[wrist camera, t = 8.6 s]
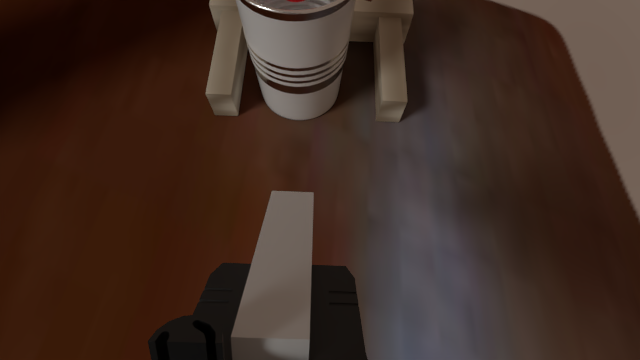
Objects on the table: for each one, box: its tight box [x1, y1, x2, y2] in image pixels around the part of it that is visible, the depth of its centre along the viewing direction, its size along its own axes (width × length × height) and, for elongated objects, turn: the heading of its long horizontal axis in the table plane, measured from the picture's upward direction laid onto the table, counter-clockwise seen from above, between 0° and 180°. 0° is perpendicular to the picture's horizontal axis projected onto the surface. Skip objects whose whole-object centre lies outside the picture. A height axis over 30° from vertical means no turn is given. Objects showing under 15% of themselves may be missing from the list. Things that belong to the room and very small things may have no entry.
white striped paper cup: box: [235, 0, 372, 120], centre depth 26 cm, size 10×8×12 cm
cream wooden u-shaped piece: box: [206, 0, 414, 122], centre depth 31 cm, size 18×11×4 cm, turn 88°
